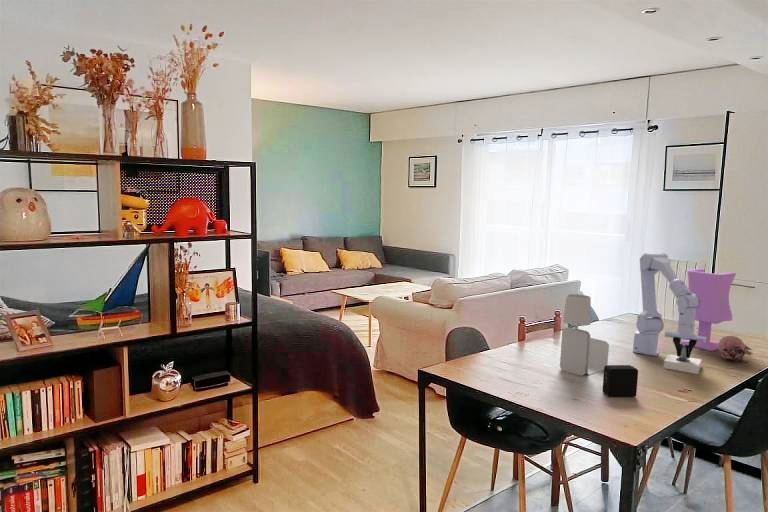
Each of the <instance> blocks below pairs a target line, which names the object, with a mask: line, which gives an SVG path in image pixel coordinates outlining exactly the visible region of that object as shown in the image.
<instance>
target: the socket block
mask: <svg viewBox="0 0 768 512" xmlns="http://www.w3.org/2000/svg"><path fill="white" fill-rule="evenodd" d="M701 367H702V359H701V358H696V357H695V358H694V357H690V358H688V359H687V362H683V361H679V357H677V354H671V353H668V354H667V356H666V357H665V359H664V360H663V368H664V369H667V370H668V369H669V370H673V371H678V372H684V373H690V374H694V375H695V374H696V375H699V373H700V370H701Z"/></svg>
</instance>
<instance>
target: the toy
mask: <svg viewBox="0 0 768 512" xmlns="http://www.w3.org/2000/svg"><path fill="white" fill-rule="evenodd" d="M717 343H718V351H720V355H721V357H722V358H723V359H724V360H725V361H726V362H728V360H727V359H729V360H731V361H738V360H740V361H739V363H741V362H742V360H743V357H744V356H746V355H748V356H751V355H754V354H753V352H752V351H754V350H753V349H752V348H751V347H749V346H748V345H747V344H745V343H744V341H743V340H742V339H741V338H739V337H737V336H735V335H728V336H724V337H721V339H720V340H719V341H718V342H717Z"/></svg>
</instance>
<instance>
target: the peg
mask: <svg viewBox="0 0 768 512" xmlns="http://www.w3.org/2000/svg"><path fill="white" fill-rule="evenodd" d="M688 349H689V345H687V344H681V343H680V353H679V361H683V362H687V359H688V358H687V355H688Z"/></svg>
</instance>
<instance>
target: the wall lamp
mask: <svg viewBox="0 0 768 512" xmlns="http://www.w3.org/2000/svg"><path fill="white" fill-rule="evenodd" d="M565 298H566V299H565V305H564V312H563V313H564V314H563V320H562V321H563V323H565V324H567V325H571V326H574V327H571V326H568V327H565V328H563V329H562V331H561V345H560V357H559V367H560V370H561V371H562V372H567V373H570V374H573V375H577V376H580V377H582V376H584V375H588V376H591V375H593V374H596V373H599V372H601V371H604V367H605V366H606V365H609V364H608V363H609V352H610V351H609V349H610V348H609V347H610V346H609V342H607V341H606V340H603V339H597V338H592V337H591V334H590V332H589V331H587V330H584V329H579V326H583V327H584V326H585V327H586V326H590V325H591V324H592V322H591V318H592V317H591V315H592V313H591V311H592V310H591V303H592V302H591V296H590V295H585V294H578V293H575V294H573V293H572V294H571V293H569V294H566V297H565Z"/></svg>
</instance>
